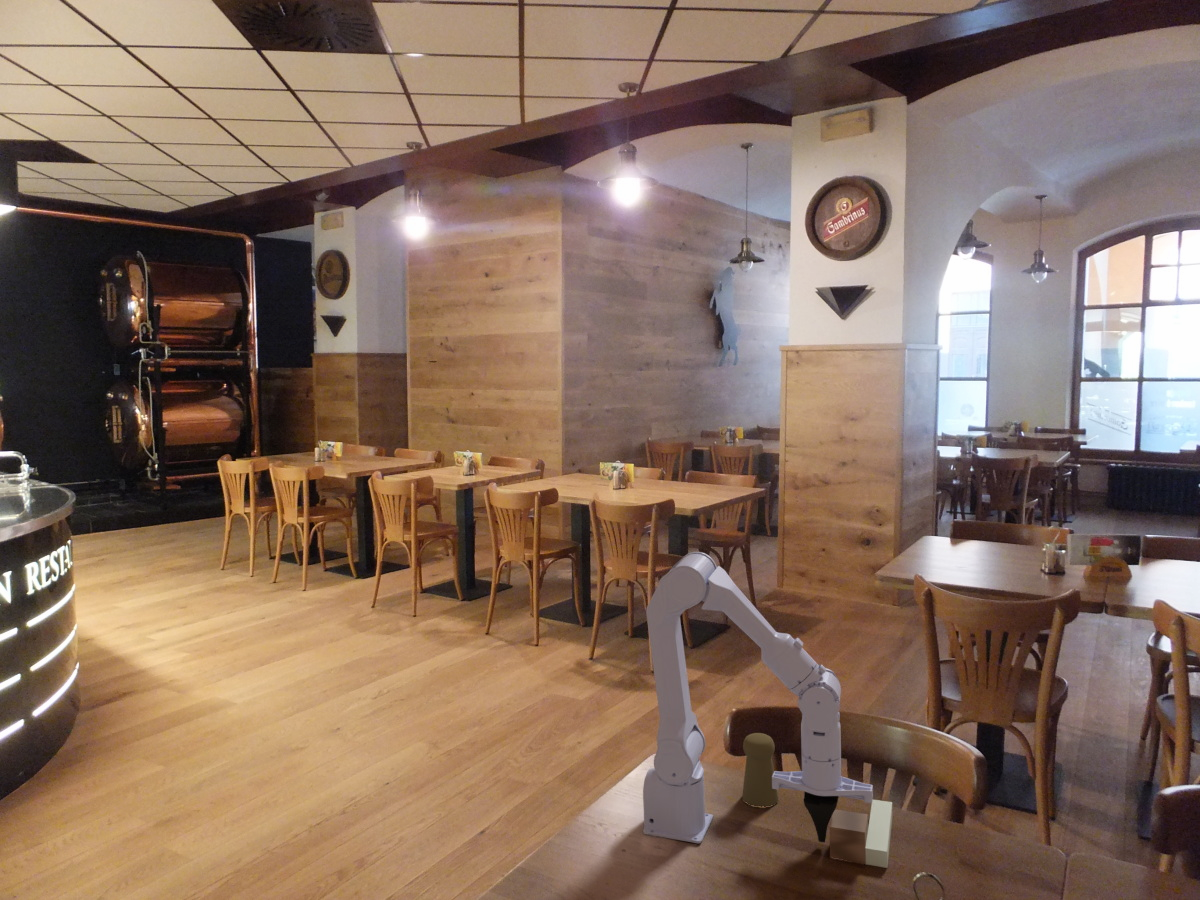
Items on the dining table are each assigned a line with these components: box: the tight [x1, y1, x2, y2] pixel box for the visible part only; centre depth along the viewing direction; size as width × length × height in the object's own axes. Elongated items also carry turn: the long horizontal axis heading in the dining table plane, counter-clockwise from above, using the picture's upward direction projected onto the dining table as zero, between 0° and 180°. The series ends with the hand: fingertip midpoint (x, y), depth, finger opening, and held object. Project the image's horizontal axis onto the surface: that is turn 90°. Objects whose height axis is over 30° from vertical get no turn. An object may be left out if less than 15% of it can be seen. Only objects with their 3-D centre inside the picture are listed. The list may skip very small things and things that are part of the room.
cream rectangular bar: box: [865, 799, 893, 869], centre depth 129 cm, size 3×14×2 cm, turn 158°
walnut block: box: [828, 809, 869, 865], centre depth 126 cm, size 5×5×5 cm
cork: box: [741, 732, 779, 807], centre depth 141 cm, size 6×6×11 cm
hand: (822, 838), depth 127 cm, fingers closed
